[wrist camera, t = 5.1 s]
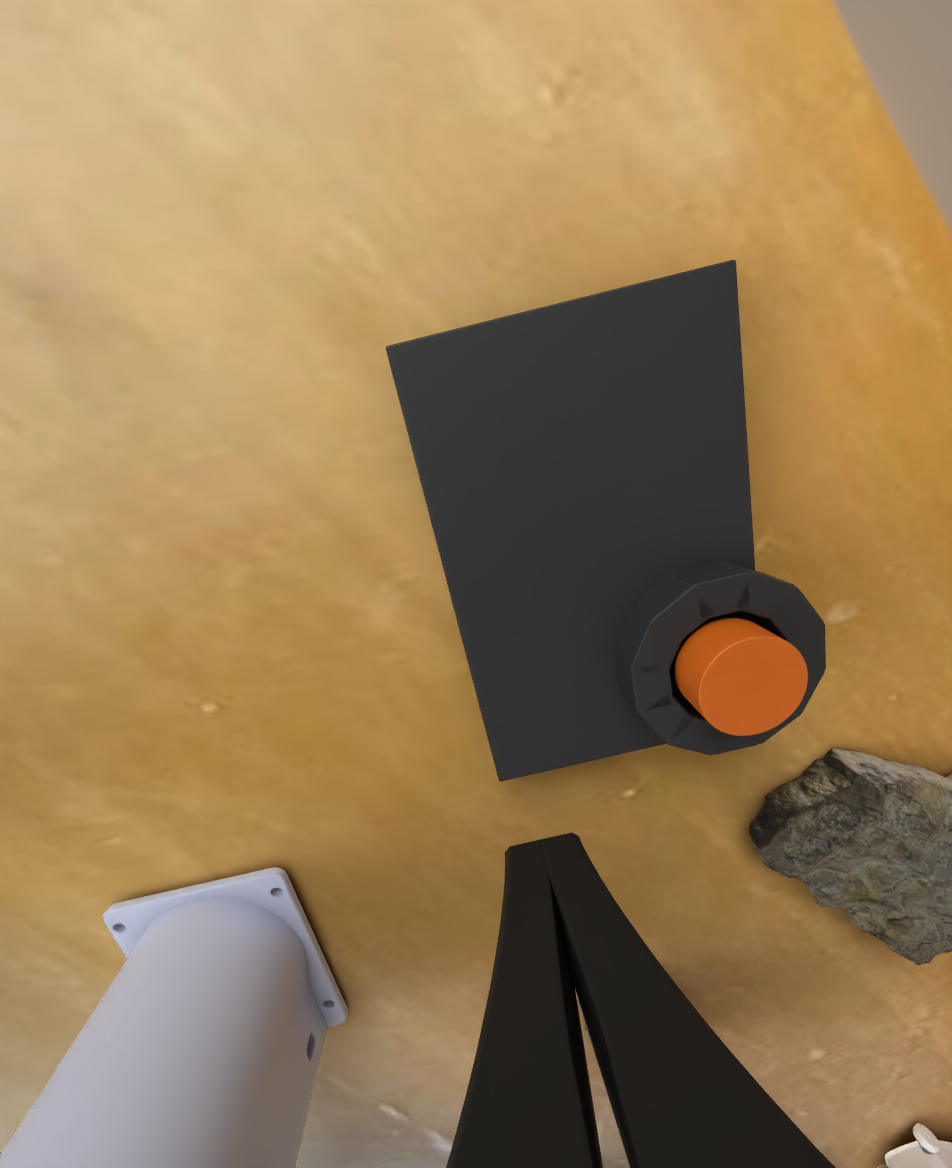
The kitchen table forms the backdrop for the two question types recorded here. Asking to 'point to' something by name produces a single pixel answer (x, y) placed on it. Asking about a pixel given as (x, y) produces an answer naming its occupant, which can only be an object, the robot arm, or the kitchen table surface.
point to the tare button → (741, 676)
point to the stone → (868, 846)
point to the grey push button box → (595, 513)
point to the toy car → (921, 1152)
